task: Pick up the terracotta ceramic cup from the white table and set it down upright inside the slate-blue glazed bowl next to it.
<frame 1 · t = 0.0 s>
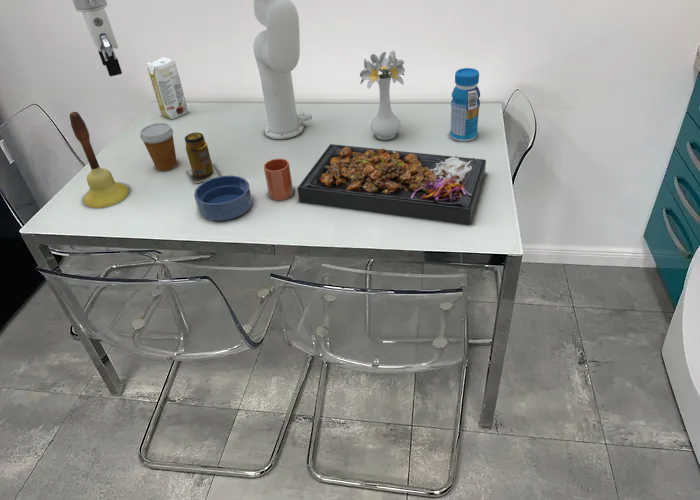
hand: (112, 69, 150), 31 cm above the table, tool pointing down, fingers open, 9 cm apart
condiment: (203, 175, 165), on the table
food platter: (393, 188, 152), on the table
bowl: (226, 207, 151), on the table
juice carton: (175, 114, 201), on the table
disposable coffee cup: (166, 166, 171), on the table
handbell: (106, 196, 160), on the table
flower vase: (384, 135, 177), on the table
beverage bottle: (463, 136, 173), on the table
cup: (281, 193, 154), on the table
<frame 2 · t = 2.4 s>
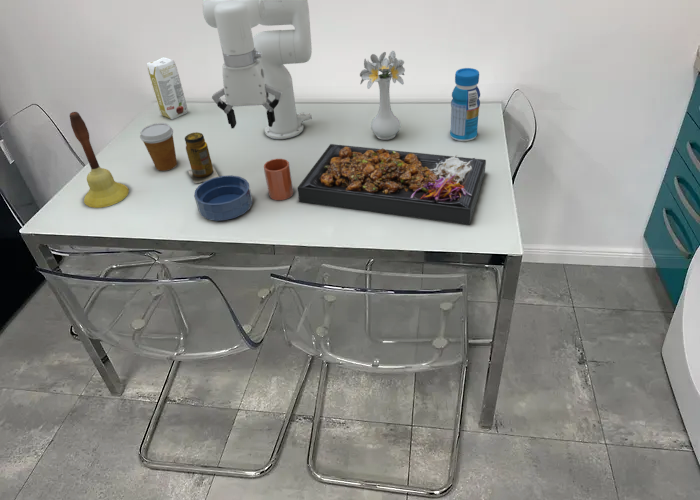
hand: (252, 125, 143), 20 cm above the table, tool pointing down, fingers open, 9 cm apart
nothing on the table moved.
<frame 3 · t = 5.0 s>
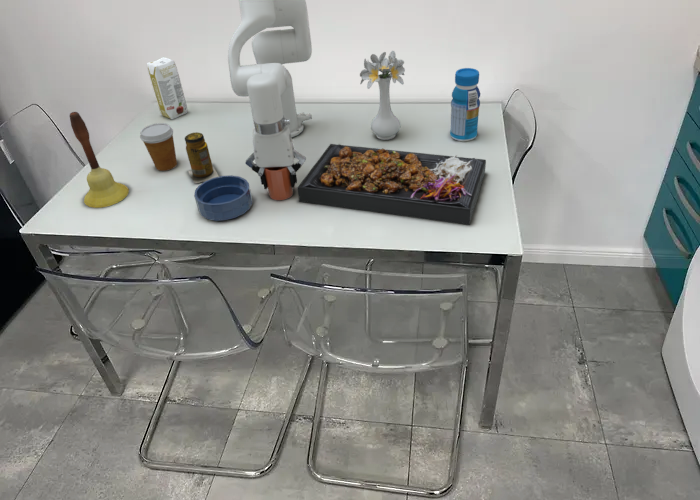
hand: (279, 185, 152), 3 cm above the table, tool pointing down, fingers closed on cup, 6 cm apart
cup: (281, 193, 154), on the table, touching gripper
everything else where it was.
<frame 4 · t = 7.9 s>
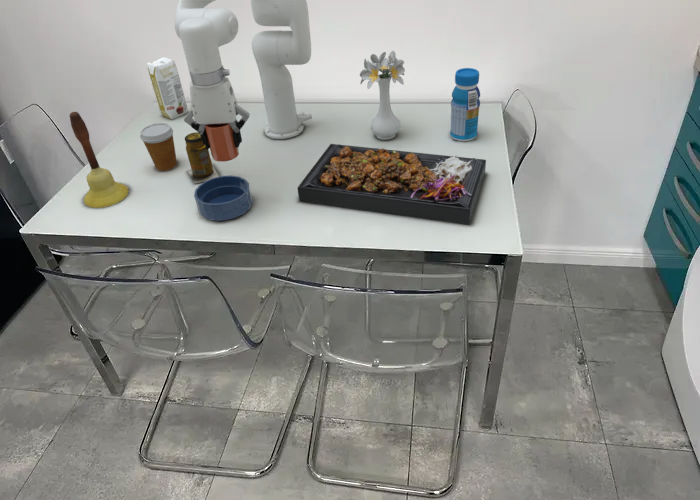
hand: (223, 145, 140), 18 cm above the table, tool pointing down, fingers closed on cup, 6 cm apart
cup: (225, 155, 142), point 15 cm above the table, touching gripper
everything else where it was.
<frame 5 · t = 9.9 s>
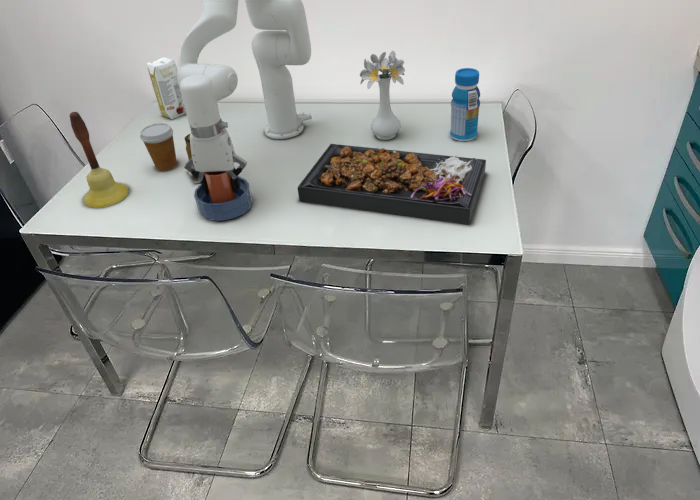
hand: (221, 190, 147), 5 cm above the table, tool pointing down, fingers closed on cup, 6 cm apart
cup: (224, 199, 149), point 3 cm above the table, touching gripper
everything else where it was.
when the fingers open (3 cm above the table, at t = 11.1 s): cup stays where it is, resting on bowl.
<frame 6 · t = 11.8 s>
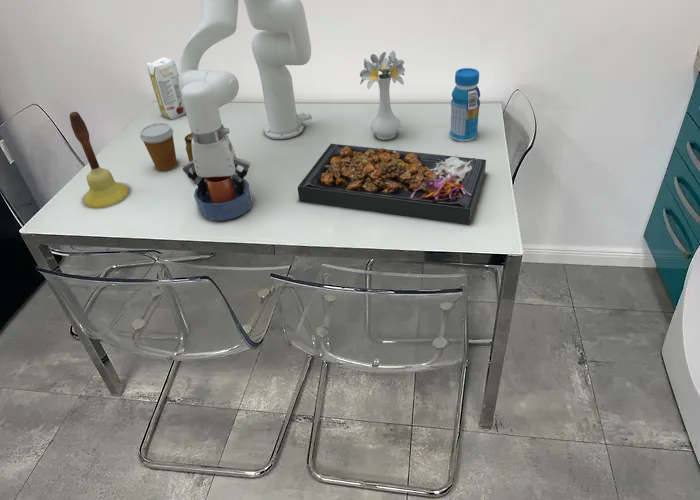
hand: (222, 193, 148), 4 cm above the table, tool pointing down, fingers open, 9 cm apart
cup: (225, 205, 150), point 1 cm above the table, touching bowl
everything else where it was.
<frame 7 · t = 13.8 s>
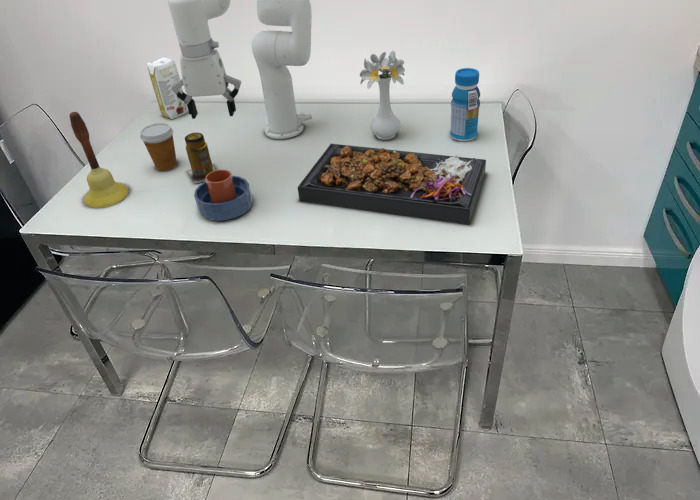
hand: (213, 115, 143), 22 cm above the table, tool pointing down, fingers open, 9 cm apart
nothing on the table moved.
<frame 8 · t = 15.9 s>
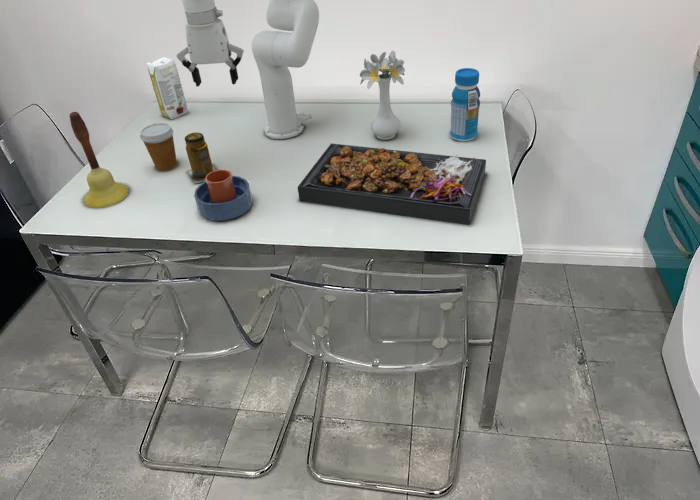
hand: (216, 83, 150), 26 cm above the table, tool pointing down, fingers open, 9 cm apart
nothing on the table moved.
at the end: cup 0.1 cm off-centre in the bowl, point 0.6 cm above the bowl's base; cup tilted 0°; the gripper is holding nothing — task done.
